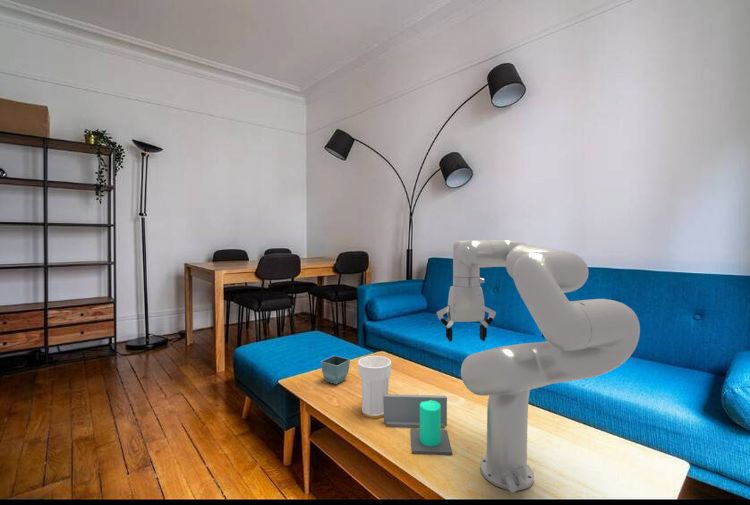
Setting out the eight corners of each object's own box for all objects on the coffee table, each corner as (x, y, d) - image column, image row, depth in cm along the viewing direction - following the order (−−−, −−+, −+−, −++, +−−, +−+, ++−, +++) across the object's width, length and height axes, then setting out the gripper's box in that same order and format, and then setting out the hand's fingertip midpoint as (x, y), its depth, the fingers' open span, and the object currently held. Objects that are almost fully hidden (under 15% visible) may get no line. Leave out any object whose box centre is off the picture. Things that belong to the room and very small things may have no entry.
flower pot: (350, 380, 146) (350, 358, 145) (337, 388, 138) (337, 365, 138) (334, 375, 150) (334, 355, 150) (320, 383, 143) (320, 361, 142)
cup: (351, 411, 120) (351, 361, 119) (374, 400, 128) (373, 353, 127) (375, 424, 112) (375, 370, 111) (398, 410, 120) (398, 361, 119)
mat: (452, 455, 96) (452, 452, 96) (411, 453, 97) (411, 450, 97) (446, 432, 107) (446, 429, 107) (410, 431, 108) (410, 428, 108)
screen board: (447, 428, 109) (447, 400, 108) (383, 426, 110) (383, 398, 110) (445, 420, 114) (445, 393, 113) (384, 418, 115) (383, 391, 115)
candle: (441, 435, 104) (441, 396, 103) (440, 447, 98) (440, 405, 97) (420, 433, 105) (420, 394, 105) (418, 444, 99) (418, 403, 99)
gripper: (491, 280, 107) (490, 336, 107) (434, 281, 106) (434, 336, 107) (500, 283, 99) (499, 343, 100) (439, 284, 99) (439, 344, 100)
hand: (466, 340), depth 104 cm, fingers open, 9 cm apart
